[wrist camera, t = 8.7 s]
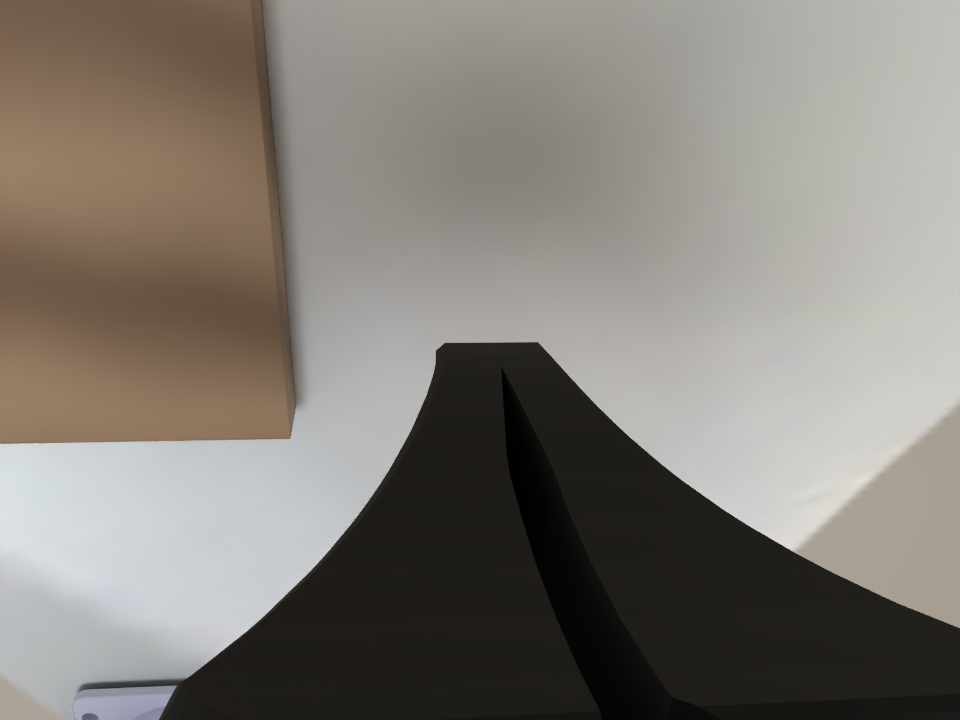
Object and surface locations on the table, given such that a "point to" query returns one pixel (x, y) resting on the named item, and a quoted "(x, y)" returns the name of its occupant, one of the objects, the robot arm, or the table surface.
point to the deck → (139, 225)
